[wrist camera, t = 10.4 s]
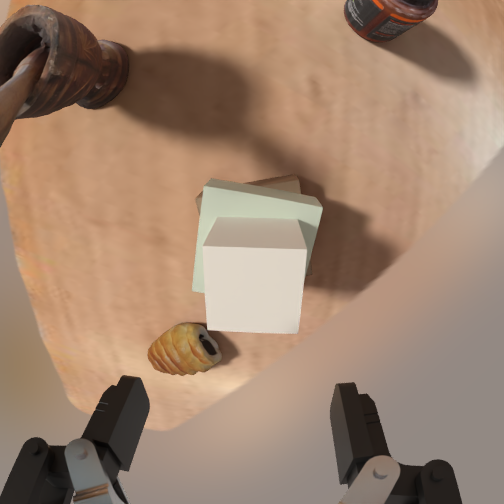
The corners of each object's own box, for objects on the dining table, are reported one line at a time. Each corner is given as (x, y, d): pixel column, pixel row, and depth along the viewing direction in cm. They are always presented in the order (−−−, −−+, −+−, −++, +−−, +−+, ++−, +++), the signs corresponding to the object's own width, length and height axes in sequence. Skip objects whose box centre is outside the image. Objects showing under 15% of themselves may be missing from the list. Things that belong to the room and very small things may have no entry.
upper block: (315, 197, 26) (323, 207, 23) (293, 288, 29) (296, 308, 26) (211, 178, 26) (203, 186, 22) (199, 272, 29) (191, 291, 26)
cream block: (297, 219, 23) (307, 249, 18) (291, 289, 25) (297, 333, 20) (217, 216, 23) (202, 246, 18) (219, 286, 26) (207, 330, 20)
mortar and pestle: (175, 74, 25) (38, 14, 6) (124, 146, 28) (-36, 194, 9) (97, 26, 22) (-44, -24, 4) (54, 93, 25) (-97, 101, 7)
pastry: (169, 372, 39) (163, 392, 36) (139, 337, 37) (129, 356, 33) (227, 352, 37) (224, 373, 34) (196, 312, 35) (190, 331, 31)
